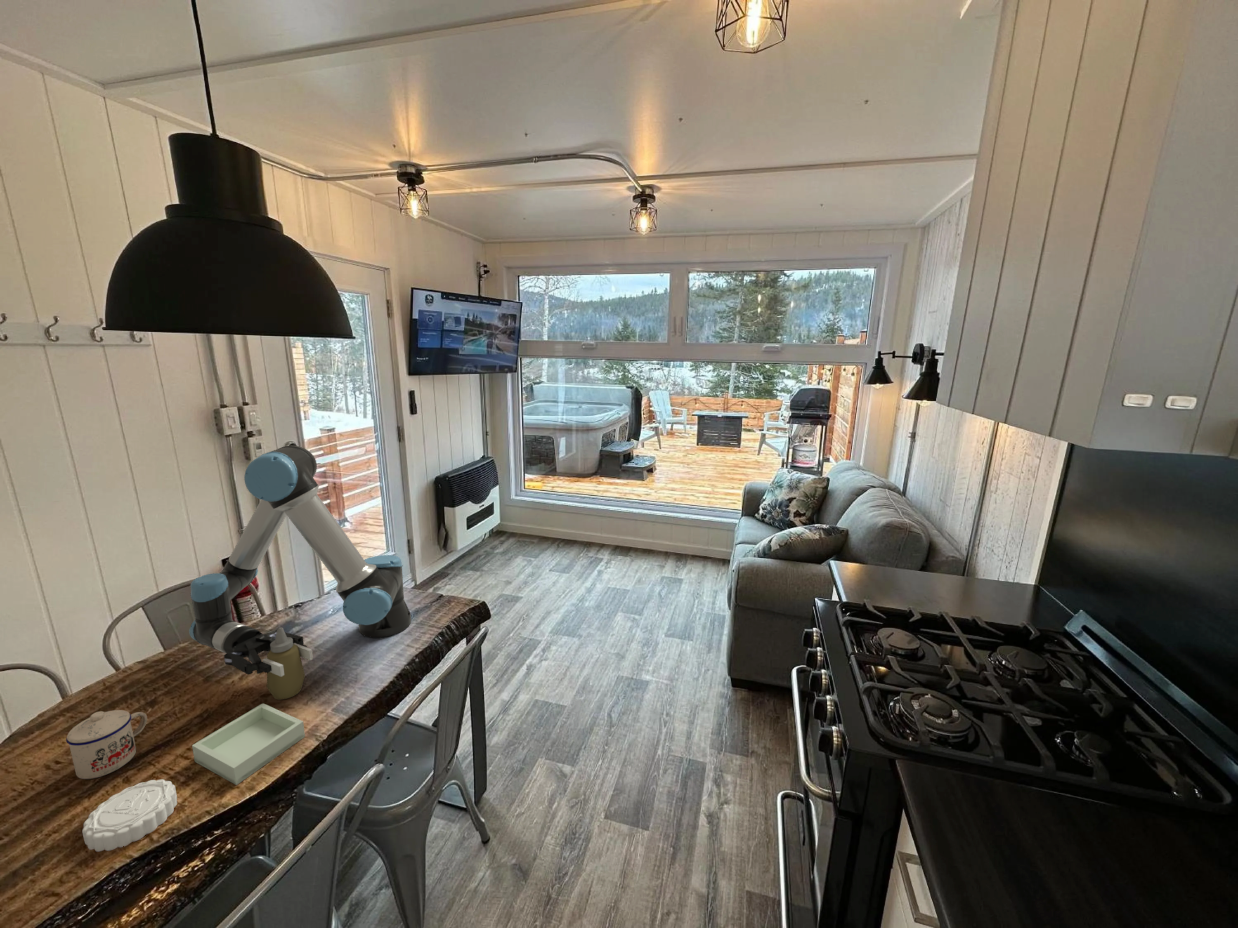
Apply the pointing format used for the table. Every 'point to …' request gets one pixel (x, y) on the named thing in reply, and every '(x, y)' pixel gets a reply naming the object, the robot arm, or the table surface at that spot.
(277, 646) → the squeeze bottle
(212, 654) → the table surface
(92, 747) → the teacup with lid
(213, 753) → the tray
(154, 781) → the mooncake
